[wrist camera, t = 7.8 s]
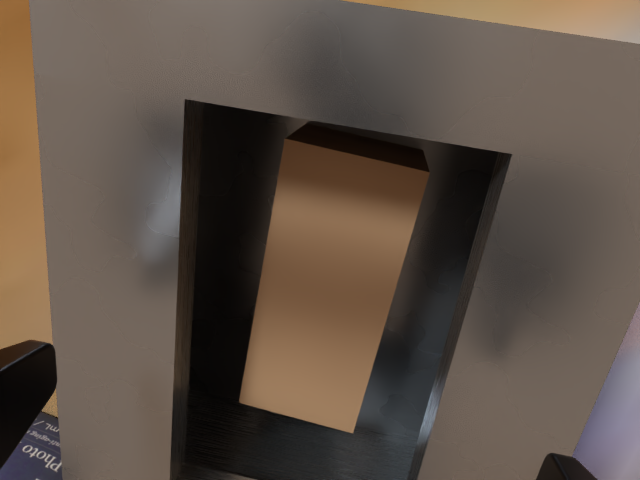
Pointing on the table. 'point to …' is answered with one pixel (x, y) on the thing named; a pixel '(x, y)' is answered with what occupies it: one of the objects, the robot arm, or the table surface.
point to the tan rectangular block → (330, 272)
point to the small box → (36, 453)
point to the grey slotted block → (255, 215)
